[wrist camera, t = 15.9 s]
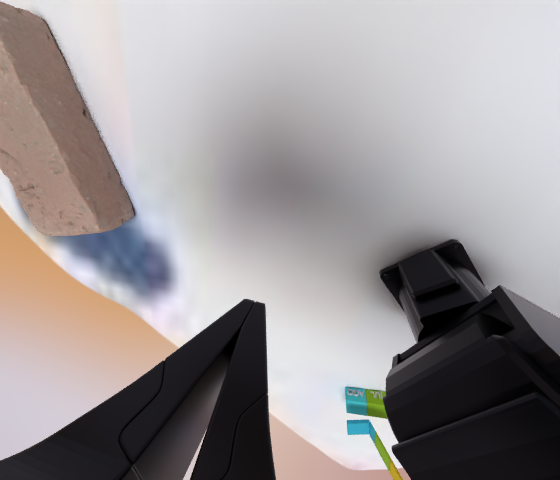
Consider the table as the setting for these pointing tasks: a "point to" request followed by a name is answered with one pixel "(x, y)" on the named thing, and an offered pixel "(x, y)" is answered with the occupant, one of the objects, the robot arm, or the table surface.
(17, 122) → the brick
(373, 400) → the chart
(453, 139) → the table surface
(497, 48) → the table surface
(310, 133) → the table surface
